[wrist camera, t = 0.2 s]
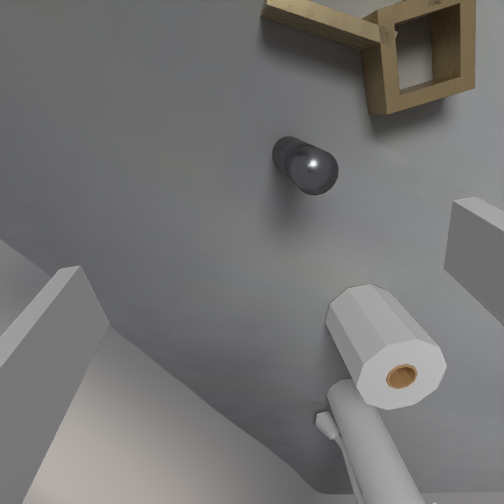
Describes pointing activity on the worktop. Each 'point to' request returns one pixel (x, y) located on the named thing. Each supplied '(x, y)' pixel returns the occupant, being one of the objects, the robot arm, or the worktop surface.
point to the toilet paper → (384, 348)
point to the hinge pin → (306, 165)
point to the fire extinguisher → (367, 448)
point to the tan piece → (394, 45)
